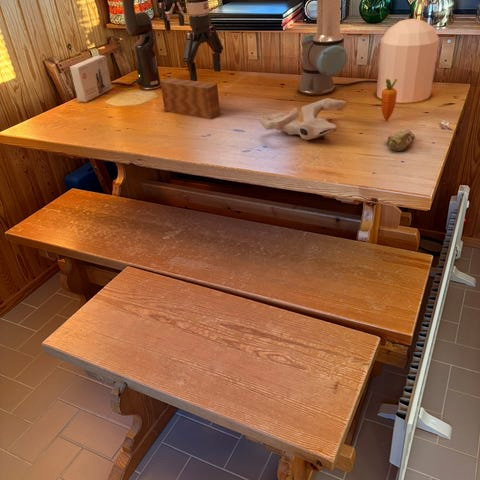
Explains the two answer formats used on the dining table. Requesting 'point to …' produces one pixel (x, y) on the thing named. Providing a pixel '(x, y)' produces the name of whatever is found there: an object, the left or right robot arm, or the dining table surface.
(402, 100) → the container
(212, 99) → the box
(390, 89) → the carrot
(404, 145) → the rock
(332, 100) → the beige branched piece
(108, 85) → the skincare box
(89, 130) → the dining table surface
